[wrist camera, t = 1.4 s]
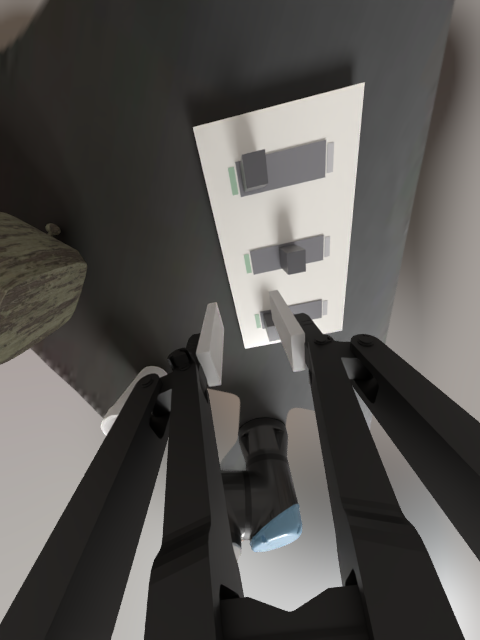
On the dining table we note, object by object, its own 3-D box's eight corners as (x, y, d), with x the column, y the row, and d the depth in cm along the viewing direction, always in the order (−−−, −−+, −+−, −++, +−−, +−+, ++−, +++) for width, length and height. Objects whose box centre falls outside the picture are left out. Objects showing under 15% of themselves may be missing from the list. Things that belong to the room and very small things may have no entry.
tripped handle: (296, 263, 30) (306, 271, 26) (280, 267, 30) (288, 274, 26) (295, 244, 29) (305, 249, 25) (279, 247, 29) (286, 253, 25)
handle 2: (277, 325, 36) (283, 338, 32) (265, 327, 36) (269, 341, 32) (276, 311, 34) (282, 324, 30) (263, 314, 34) (267, 327, 31)
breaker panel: (335, 324, 40) (342, 331, 38) (244, 341, 41) (245, 349, 39) (352, 94, 23) (365, 81, 21) (196, 134, 24) (192, 126, 22)
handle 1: (262, 188, 25) (268, 183, 21) (244, 192, 25) (246, 188, 21) (259, 159, 23) (265, 148, 20) (239, 164, 24) (241, 154, 20)
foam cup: (153, 354, 42) (124, 406, 30) (182, 377, 46) (167, 431, 34) (125, 373, 44) (89, 428, 33) (155, 394, 48) (132, 449, 37)
